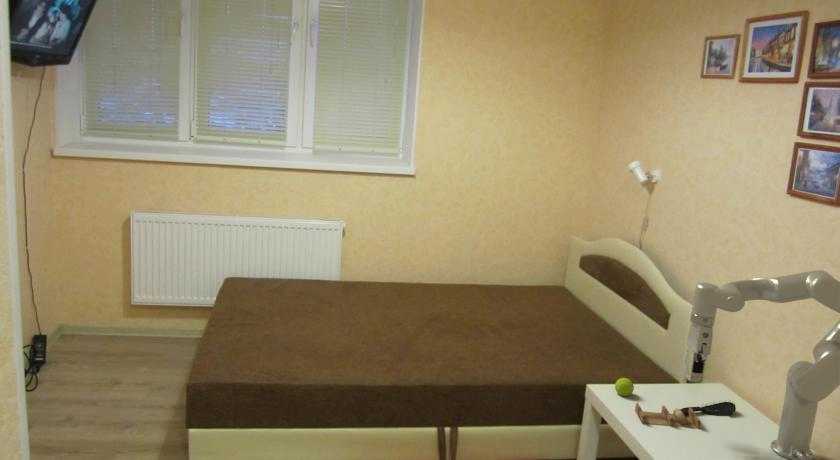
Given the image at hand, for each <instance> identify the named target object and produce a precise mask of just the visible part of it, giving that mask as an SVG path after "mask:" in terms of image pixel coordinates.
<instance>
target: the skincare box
mask: <svg viewBox="0 0 840 460" xmlns="http://www.w3.org/2000/svg"><path fill="white" fill-rule="evenodd" d="M687 350H688V352H687V351H686V352H687V353H686V357H687V359H686V358H685V366H684V367H685V368H684V376H685V378H687V380H688V381H689V382H693V383H703V380H704V379H703V378H704V371H705V365H706V362H705V363H704V367H703V372H702V373H693V372H692V370H693V365H694V361H695V356H696V353H695V352H694V350H693V349H692V348H691V347H690V346H689V345H688V344H687ZM698 352H699V353H702V351H698ZM701 356H702V355H698V358H699V357H701Z"/></svg>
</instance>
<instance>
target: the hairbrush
mask: <svg viewBox="0 0 840 460" xmlns="http://www.w3.org/2000/svg"><path fill="white" fill-rule="evenodd" d="M689 408H692V410H693V411H694V412H695V413H696V412H703V413H706V414H707V415H710V416H711V415H712V416H717V417H730V416H732V415H733V414H734V413H735V412H736V410H737V409H736V404H735V402H734V401H731V400H730V399H728V401H726V400H722V399H721V402H717V401H714V402H708V403H706V405H702V406H687V407H682V408H679V409H680V410H681V411H682V412H683V414H684V415H688V413H689V412H688V411H689Z"/></svg>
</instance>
